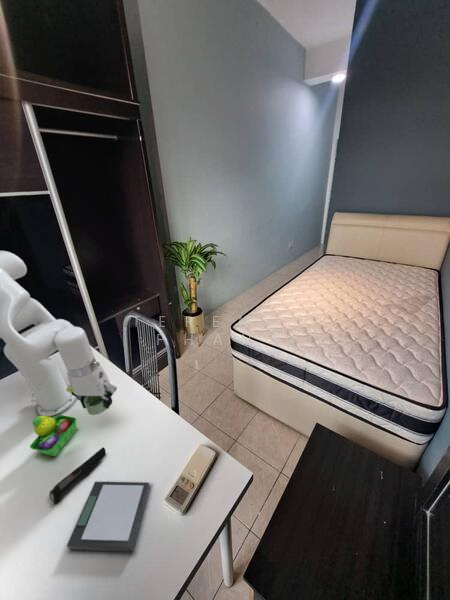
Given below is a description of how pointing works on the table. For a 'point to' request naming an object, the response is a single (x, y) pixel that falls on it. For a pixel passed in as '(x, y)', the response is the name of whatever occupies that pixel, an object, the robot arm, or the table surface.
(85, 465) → the electric trimmer
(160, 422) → the table surface
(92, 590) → the table surface
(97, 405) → the bowl
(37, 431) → the fruit basket
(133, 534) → the scale
